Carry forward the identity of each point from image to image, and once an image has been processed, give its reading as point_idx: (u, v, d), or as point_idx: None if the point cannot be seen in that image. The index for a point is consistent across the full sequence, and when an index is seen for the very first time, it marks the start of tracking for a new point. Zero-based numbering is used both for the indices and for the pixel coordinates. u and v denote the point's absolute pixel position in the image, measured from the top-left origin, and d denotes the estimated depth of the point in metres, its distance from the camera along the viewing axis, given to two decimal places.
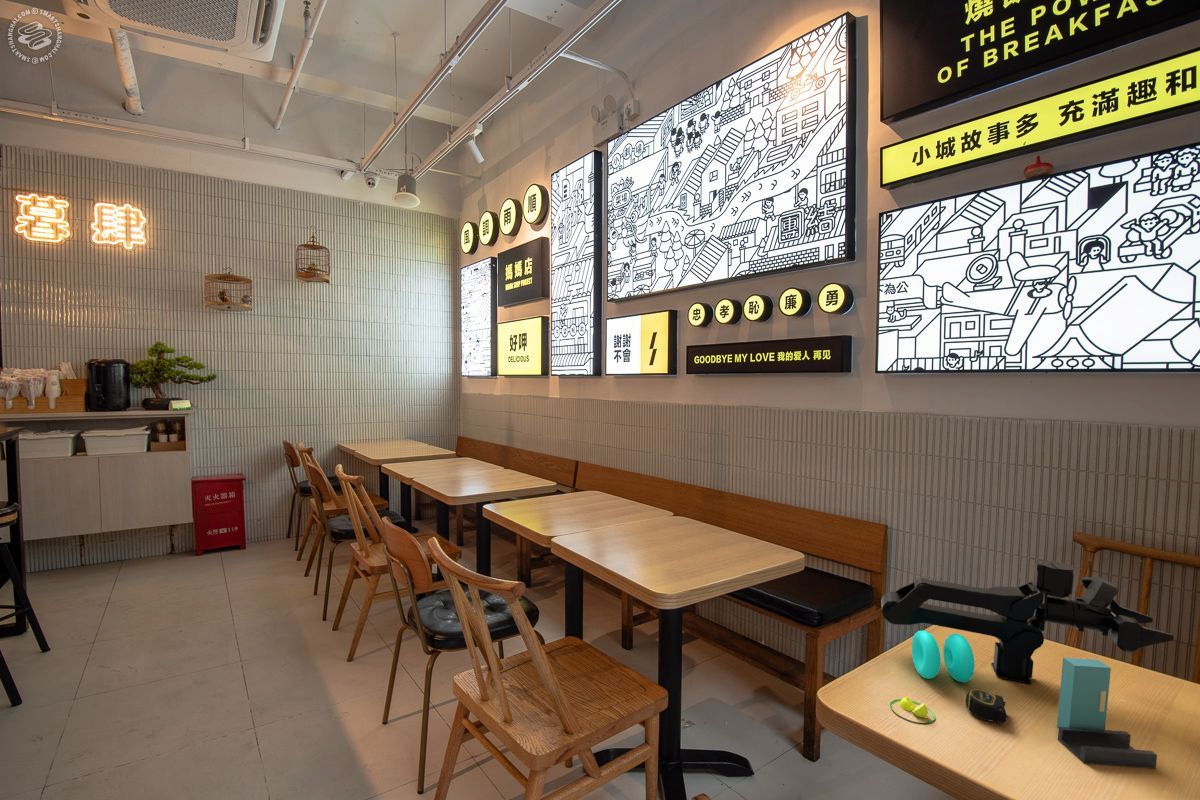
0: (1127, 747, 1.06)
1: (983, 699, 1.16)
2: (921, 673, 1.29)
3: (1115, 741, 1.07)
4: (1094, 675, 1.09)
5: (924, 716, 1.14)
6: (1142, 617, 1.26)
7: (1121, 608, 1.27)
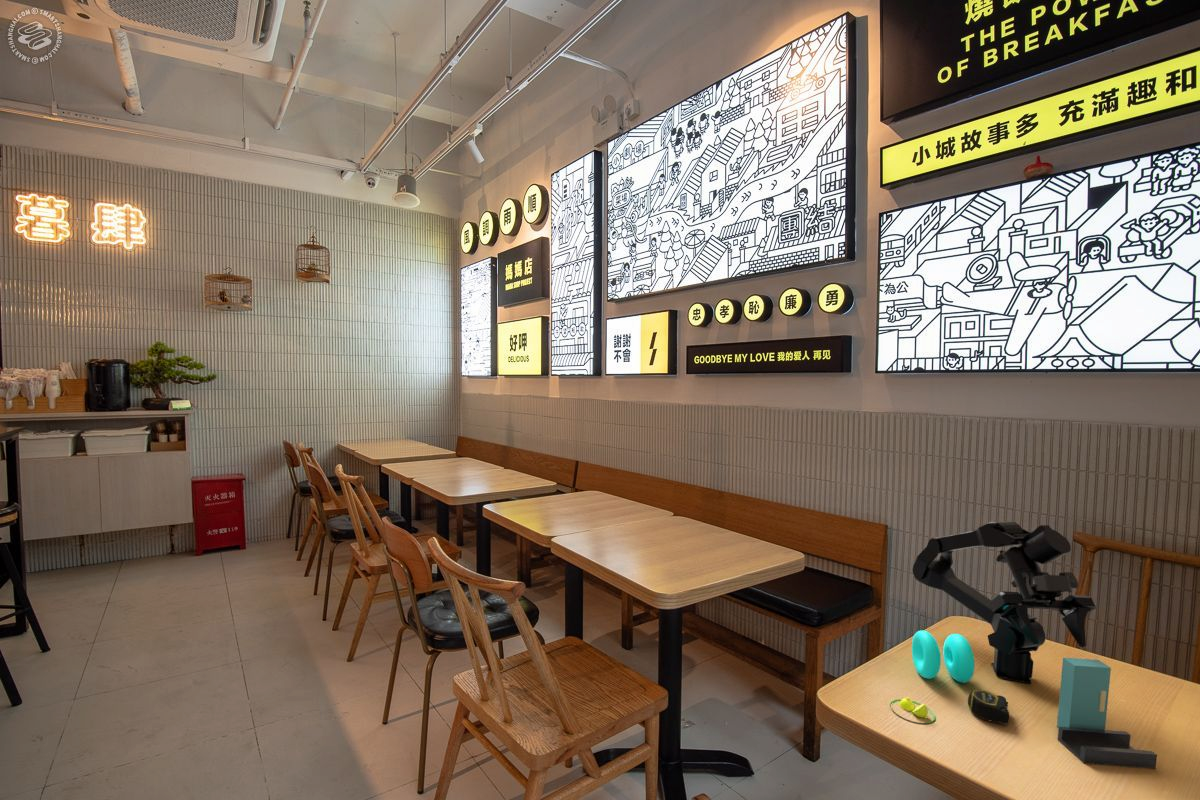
0: (1127, 747, 1.06)
1: (985, 699, 1.16)
2: (921, 673, 1.29)
3: (1115, 741, 1.07)
4: (1094, 675, 1.09)
5: (924, 716, 1.14)
6: (1079, 637, 1.19)
7: (1076, 619, 1.20)
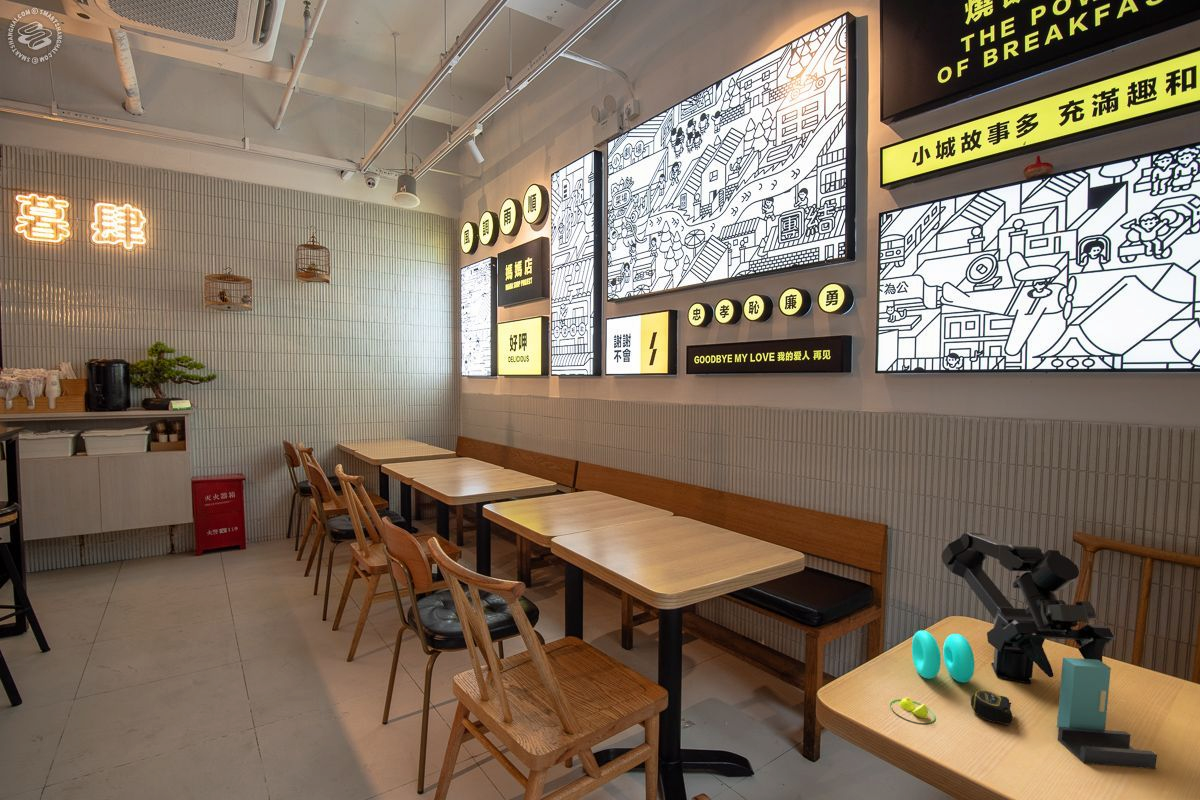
0: (1127, 747, 1.06)
1: (988, 700, 1.15)
2: (921, 673, 1.29)
3: (1115, 741, 1.07)
4: (1094, 675, 1.09)
5: (924, 716, 1.14)
6: None
7: (1093, 650, 1.15)
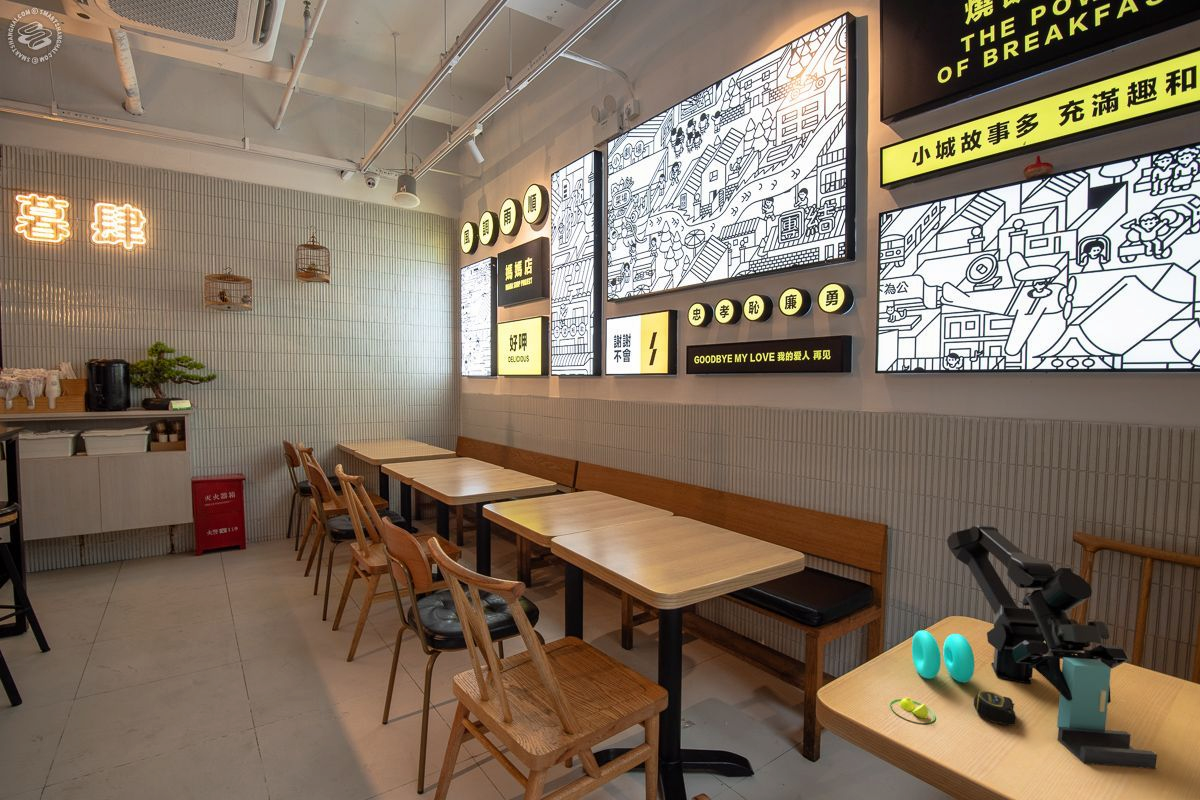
0: (1127, 747, 1.06)
1: (991, 700, 1.15)
2: (921, 673, 1.29)
3: (1115, 741, 1.07)
4: (1094, 675, 1.09)
5: (924, 716, 1.14)
6: None
7: None
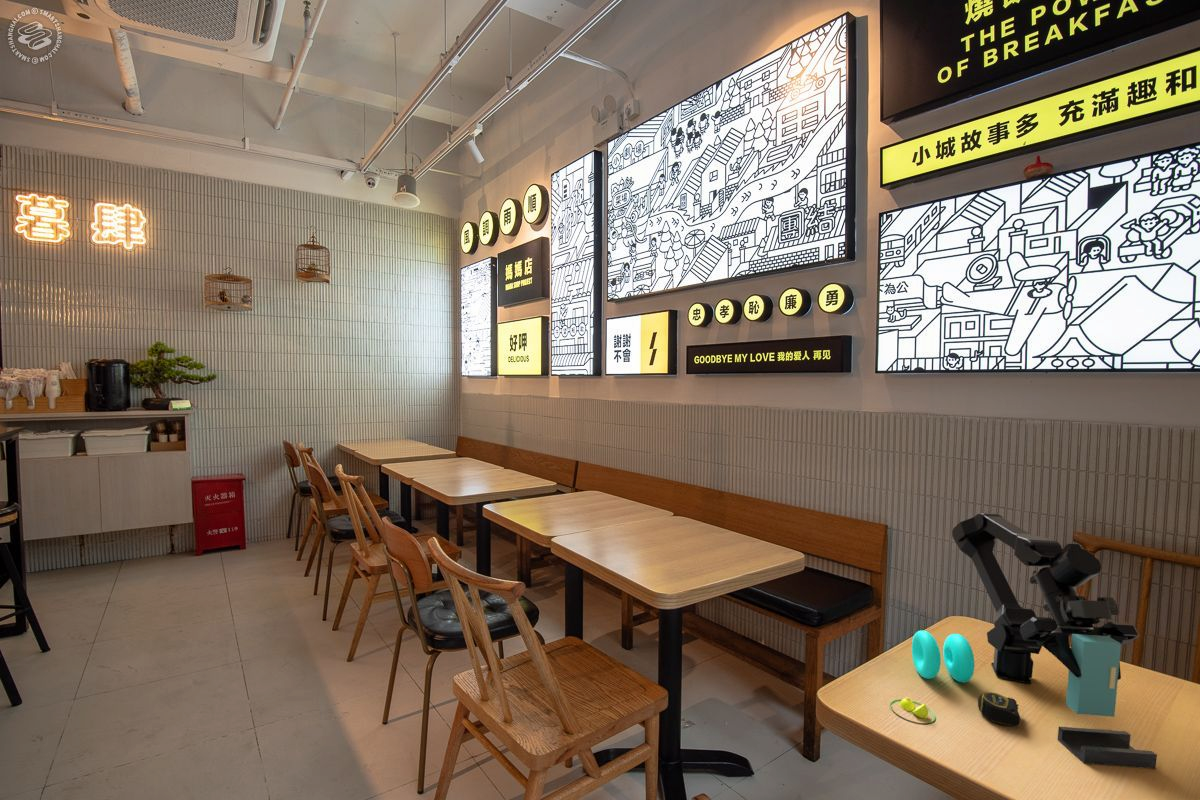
0: (1127, 747, 1.06)
1: (995, 701, 1.15)
2: (921, 673, 1.29)
3: (1115, 741, 1.07)
4: (1104, 651, 1.07)
5: (924, 716, 1.14)
6: None
7: None
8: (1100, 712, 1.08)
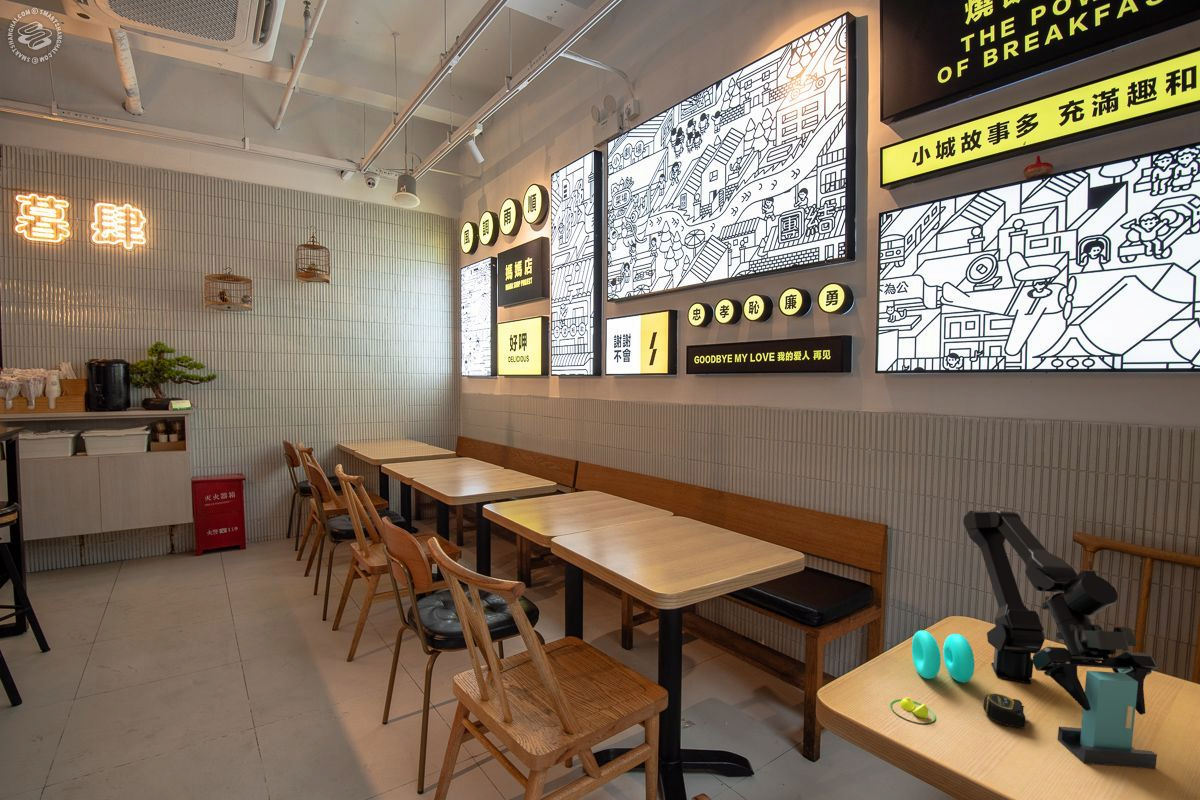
0: None
1: (1001, 703, 1.15)
2: (921, 673, 1.29)
3: None
4: (1120, 690, 1.03)
5: (924, 716, 1.14)
6: (1137, 703, 1.04)
7: None
8: None
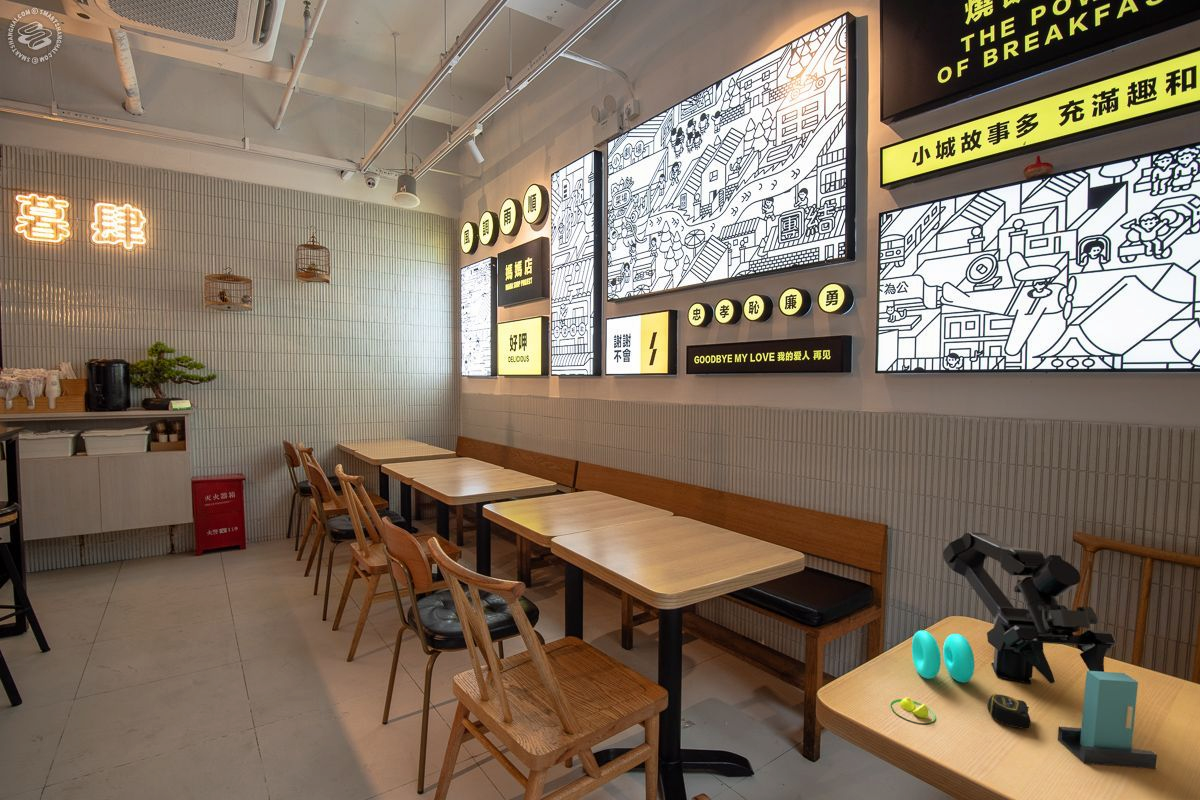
0: None
1: (1005, 704, 1.14)
2: (921, 673, 1.29)
3: None
4: (1120, 690, 1.03)
5: (925, 716, 1.14)
6: None
7: (1095, 656, 1.14)
8: None
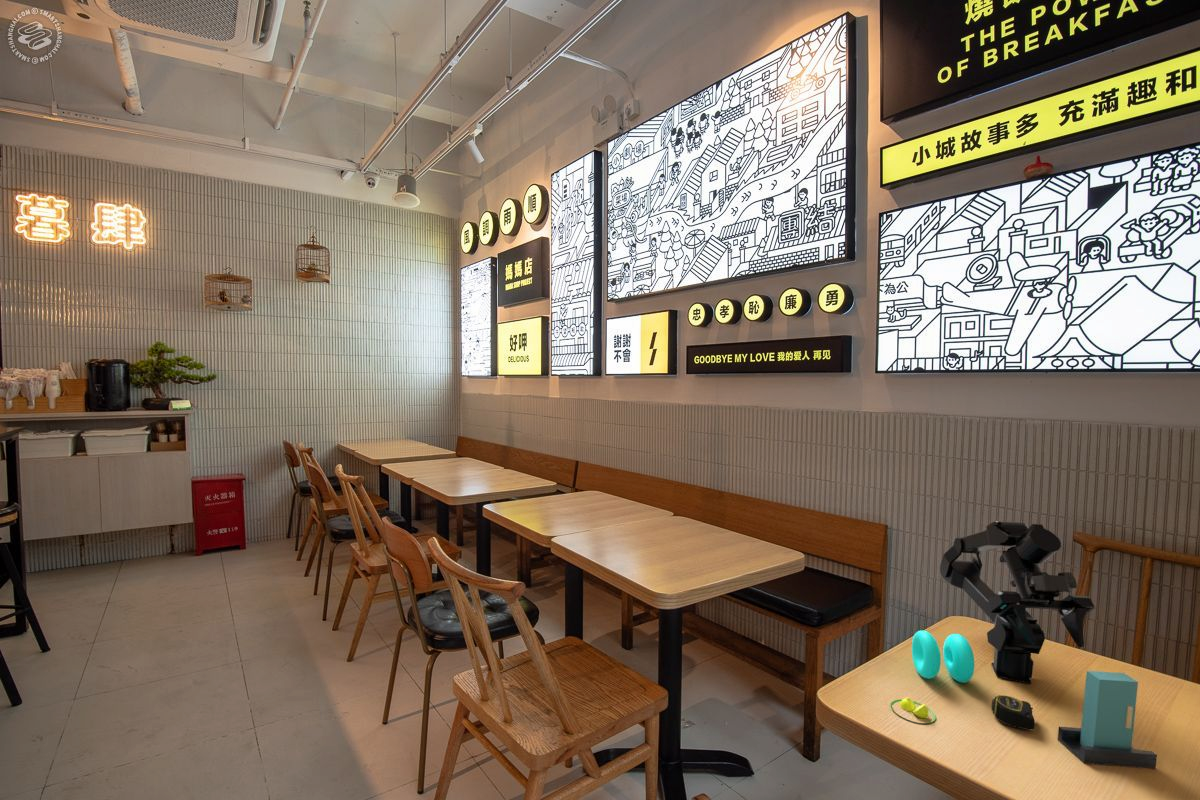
0: None
1: (1010, 705, 1.14)
2: (921, 673, 1.29)
3: None
4: (1120, 690, 1.03)
5: (925, 716, 1.14)
6: (1077, 638, 1.19)
7: (1075, 619, 1.20)
8: None
